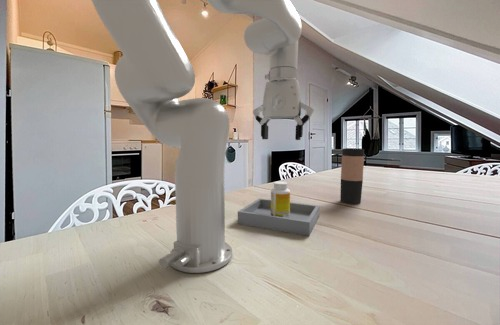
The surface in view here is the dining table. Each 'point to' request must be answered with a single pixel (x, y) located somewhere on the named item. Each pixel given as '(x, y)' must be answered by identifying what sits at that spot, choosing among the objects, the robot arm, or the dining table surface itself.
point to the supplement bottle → (280, 200)
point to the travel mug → (352, 175)
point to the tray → (296, 223)
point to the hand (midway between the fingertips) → (281, 139)
